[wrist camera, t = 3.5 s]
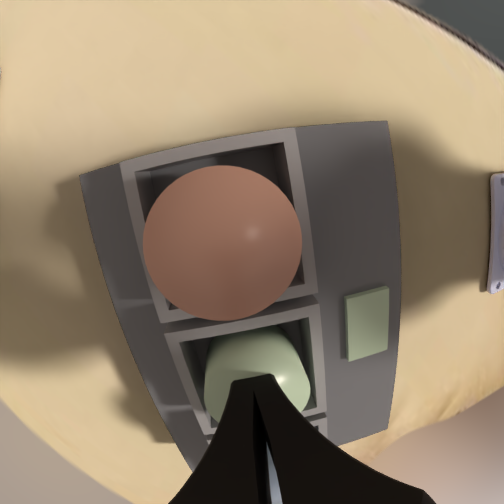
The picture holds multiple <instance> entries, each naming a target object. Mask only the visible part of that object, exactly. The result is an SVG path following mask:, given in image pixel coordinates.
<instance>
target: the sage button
mask: <svg viewBox="0 0 504 504" xmlns="http://www.w3.org/2000/svg"><path fill="white" fill-rule="evenodd" d="M269 373H271V374H272V375H274V376H275V379H276V381H277V382H278V384H279V386H280V387H281V389H282V390H283V392H284V393H285V395H286V396H287V397H288V399H289V400H290V401H291V402H292V404H293V405H294V406H295V407H296V408H297V410H298V411H299V412H300V413H301V412H302V410H303V409H304V408H305V406H306V404H307V402H308V400H309V397H310V383H309V380H308V378H307V375H306V373H305V370H304V368H303V366H302V363H301V361H300V358H299V356H298V353H297V351H296V349H295V346H294V344H293V341H292V340H291V338H290V337H289V335H288V334H287V333H286V332H285V331H284V330H282V329H281V328H279V327H278V326H276V325H270V326H266V327H261V328H256V329H251V330H246V331H240V332H235V333H230V334H224V335H219V336H215V338H214V339H213V340H212V342H211V343H210V345H209V347H208V350H207V354H206V368H205V387H204V403H205V406H206V409H207V411H208V412H209V414H210V415H211V416H212V417H213V418H214V419H215V420H216V421H217V422H218V423H219V422H220V419H221V416H222V414H223V411H224V408H225V405H226V402H227V399H228V395H229V391H230V386H231V383H232V382H233V380H239V379H244V378H250V377H255V376H260V375H265V374H269Z"/></svg>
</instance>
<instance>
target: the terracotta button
mask: <svg viewBox="0 0 504 504" xmlns="http://www.w3.org/2000/svg"><path fill="white" fill-rule="evenodd" d="M301 253H302V233H301V228H300V223H299V220H298V217H297V214H296V212H295V210H294V208H293V206H292V204H291V203H290V201H289V200H288V198H287V197H286V196H285V194H284V193H283V192H282V191H281V190H280V189H279V188H278V187H277V186H276V185H275V184H273V183H272V182H271V181H270V180H268V179H267V178H265V177H263V176H262V175H260V174H258V173H256V172H253V171H251V170H248V169H244V168H241V167H235V166H210V167H204V168H201V169H197V170H194V171H192V172H190V173H187V174H185V175H183V176H182V177H180V178H178V179H177V180H175V181H174V182H173V183H172V184H170V185H169V186H168V187H167V188H166V189H165V190H164V191H163V192H162V193H161V194H160V196H159V197H158V198H157V200H156V201H155V203H154V204H153V206H152V208H151V210H150V212H149V214H148V217H147V220H146V223H145V228H144V233H143V254H144V259H145V264H146V266H147V269H148V272H149V274H150V276H151V278H152V280H153V282H154V284H155V285H156V287H157V288H158V290H159V291H160V292H161V293H162V294H163V295H164V297H165V298H166V299H168V300H169V301H170V302H171V303H172V304H173V305H175V306H176V307H178V308H179V309H181V310H183V311H185V312H187V313H189V314H191V315H193V316H196V317H199V318H203V319H207V320H215V321H230V320H237V319H241V318H245V317H249V316H251V315H254V314H256V313H258V312H260V311H262V310H264V309H265V308H267V307H268V306H270V305H271V304H273V303H274V302H275V301H276V300H277V299H278V298H279V297H280V296H281V295H282V294H283V293H284V292H285V290H286V289H287V288H288V286H289V285H290V283H291V282H292V280H293V278H294V276H295V274H296V272H297V269H298V266H299V263H300V258H301Z"/></svg>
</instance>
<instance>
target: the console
mask: <svg viewBox="0 0 504 504" xmlns="http://www.w3.org/2000/svg"><path fill="white" fill-rule="evenodd" d="M210 166H235V167H241V168H244V169H248V170H251V171H253V172H256V173H258V174H260V175H262V176H263V177H265V178H267V179H268V180H270V181H271V182H272V183H273V184H275V185H276V186H277V187H278V188H279V189H280V190H281V191H282V192H283V193H284V194H285V196H286V197H287V198H288V200H289V201H290V203H291V204H292V206H293V208H294V210H295V212H296V214H297V217H298V220H299V223H300V228H301V233H302V253H301V258H300V263H299V266H298V269H297V272H296V274H295V276H294V278H293V280H292V282H291V283H290V285H289V286H288V288H287V289H286V290H285V292H284V293H283V294H282V295H281V296H280V297H279V298H278V299H277V300H276V301H275V302H274V303H273V304H271V305H270V306H268V307H267V308H265V309H264V310H262V311H260V312H258V313H256V314H254V315H251V316H249V317H245V318H241V319H237V320H230V321H215V320H207V319H203V318H199V317H196V316H193V315H191V314H189V313H187V312H185V311H183V310H181V309H179V308H178V307H176V306H175V305H173V304H172V303H171V302H170V301H169V300H168V299H166V298H165V297H164V295H163V294H162V293H161V292H160V291H159V290H158V288H157V287H156V285H155V284H154V282H153V280H152V278H151V276H150V274H149V272H148V269H147V266H146V264H145V259H144V254H143V233H144V228H145V223H146V220H147V217H148V214H149V212H150V210H151V208H152V206H153V204H154V203H155V201H156V200H157V198H158V197H159V196H160V194H161V193H162V192H163V191H164V190H165V189H166V188H167V187H168V186H169V185H170V184H172V183H173V182H174V181H175V180H177V179H178V178H180V177H182V176H183V175H185V174H187V173H190V172H192V171H194V170H197V169H201V168H204V167H210ZM79 177H80V182H81V187H82V192H83V197H84V202H85V207H86V211H87V215H88V220H89V224H90V228H91V232H92V236H93V240H94V243H95V247H96V251H97V254H98V258H99V261H100V265H101V268H102V271H103V275H104V278H105V281H106V284H107V287H108V290H109V293H110V296H111V299H112V302H113V305H114V308H115V311H116V314H117V316H118V319H119V322H120V324H121V327H122V330H123V332H124V335H125V338H126V340H127V343H128V345H129V348H130V350H131V352H132V355H133V357H134V360H135V362H136V364H137V367H138V369H139V371H140V373H141V376H142V378H143V380H144V382H145V384H146V387H147V389H148V391H149V393H150V395H151V397H152V399H153V401H154V403H155V405H156V407H157V409H158V411H159V413H160V415H161V417H162V419H163V421H164V423H165V425H166V427H167V429H168V431H169V432H170V434H171V436H172V438H173V440H174V441H175V443H176V445H177V447H178V449H179V450H180V452H181V454H182V455H183V457H184V459H185V461H186V462H187V464H188V466H189V467H190V469H191V470H192V472H194V470H195V468H196V467H197V465H198V464H199V462H200V460H201V459H202V457H203V455H204V453H205V452H206V450H207V448H208V446H209V444H210V442H211V440H212V437H213V435H214V433H215V431H216V429H217V427H218V424H219V423H218V422H217V421H216V420H215V419H214V418H213V417H212V416H211V415H210V414H209V412H208V411H207V409H206V406H205V403H204V387H205V368H206V354H207V350H208V347H209V345H210V343H211V342H212V340H213V339H214V338H215V336H219V335H224V334H230V333H235V332H240V331H246V330H251V329H256V328H261V327H266V326H270V325H276V326H278V327H279V328H281V329H282V330H284V331H285V332H286V333H287V334H288V335H289V337H290V338H291V340H292V341H293V344H294V346H295V349H296V351H297V353H298V356H299V358H300V361H301V363H302V366H303V368H304V370H305V373H306V375H307V378H308V380H309V383H310V397H309V400H308V402H307V404H306V406H305V408H304V409H303V410H302V412H301V414H302V415H303V416H304V417H305V418H306V419H307V420H308V421H309V422H310V423H311V424H312V425H313V426H314V427H315V428H316V429H317V430H318V431H319V432H320V433H321V434H322V435H324V436H325V437H326V438H327V439H328V440H330V441H331V442H332V443H333V444H335V445H336V446H339V445H342V444H346V443H349V442H352V441H355V440H358V439H361V438H364V437H367V436H369V435H372V434H375V433H378V432H380V431H383V430H386V429H387V428H388V423H389V417H390V411H391V404H392V398H393V391H394V383H395V375H396V365H397V355H398V343H399V329H400V308H401V245H400V224H399V209H398V197H397V187H396V177H395V169H394V161H393V154H392V147H391V140H390V134H389V128H388V122H387V121H368V122H350V123H336V124H324V125H314V126H304V127H296V128H295V127H290V128H282V129H275V130H268V131H261V132H254V133H248V134H242V135H236V136H230V137H225V138H219V139H214V140H209V141H204V142H199V143H194V144H190V145H185V146H181V147H176V148H172V149H168V150H164V151H160V152H156V153H152V154H148V155H144V156H140V157H136V158H133V159H129V160H126V161H122V162H120V163H117V164H114V165H111V166H107V167H104V168H101V169H98V170H94V171H91V172H88V173H85V174H82V175H79Z"/></svg>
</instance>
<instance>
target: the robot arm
mask: <svg viewBox="0 0 504 504" xmlns="http://www.w3.org/2000/svg"><path fill="white" fill-rule="evenodd" d="M490 184H491V247H490V262H489V273H488V283H487V291H488V292H489V293H490V294H494V293H496V292H498V291H500V290H502V289H504V173H497V174H493V175H492V176H491V180H490ZM266 441H267V443H266ZM267 445H268V448H269V451H270V454H271V457H272V460H273V463H274V466H275V470H276V473H277V478H278V483H279V488H280V493H281V499H282V504H436V503H435V502H434V501H433V499H432V498H431V497H430V496H429V495H428V494H427V493H426V492H425V491H424V490H422V489H419V488H416V487H413V486H410V485H408V484H405V483H402V482H400V481H397V480H395V479H393V478H390V477H388V476H386V475H384V474H382V473H380V472H378V471H375V470H374V469H372V468H370V467H369V466H367V465H365V464H363V463H362V462H360V461H358V460H357V459H355V458H353V457H352V456H350V455H349V454H347V453H346V452H344V451H343V450H341V449H340V448H339V447H337V446H336V445H335V444H333V443H332V442H331V441H330V440H328V439H327V438H326V437H325V436H324V435H322V434H321V433H320V432H319V431H318V430H317V429H316V428H315V427H314V426H313V425H312V424H311V423H310V422H309V421H308V420H307V419H306V418H305V417H304V416H303V415H302V414H301V413H300V412H299V411H298V410H297V408H296V407H295V406H294V405H293V404H292V402H291V401H290V400H289V399H288V397H287V396H286V395H285V393H284V392H283V390H282V389H281V387H280V386H279V384H278V382H277V381H276V379H275V376H274V375H272V374H271V373H269V374H265V375H260V376H255V377H250V378H244V379H239V380H233V382H232V383H231V386H230V391H229V395H228V399H227V402H226V405H225V408H224V411H223V414H222V416H221V419H220V422H219V424H218V427H217V429H216V431H215V433H214V435H213V437H212V440H211V442H210V444H209V446H208V448H207V450H206V452H205V453H204V455H203V457H202V459H201V460H200V462H199V464H198V465H197V467H196V468H195V470H194V472H193V473H192V474H191V476H190V477H189V479H188V480H187V481H186V483H185V484H184V486H183V487H182V488H181V489H180V491H179V492H178V493H177V494H176V496H175V497H174V498H173V499H172V500H171V501H170V502H169V503H168V504H272V500H271V492H270V479H269V467H268V454H267Z"/></svg>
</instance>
